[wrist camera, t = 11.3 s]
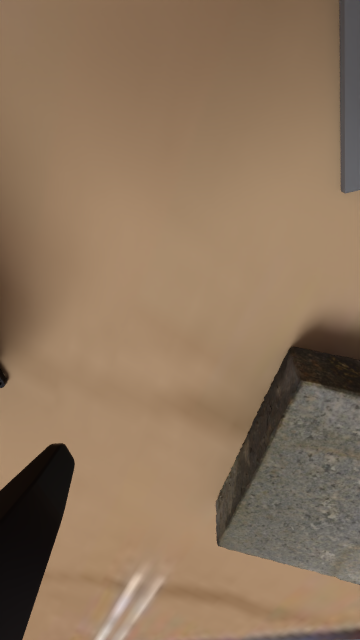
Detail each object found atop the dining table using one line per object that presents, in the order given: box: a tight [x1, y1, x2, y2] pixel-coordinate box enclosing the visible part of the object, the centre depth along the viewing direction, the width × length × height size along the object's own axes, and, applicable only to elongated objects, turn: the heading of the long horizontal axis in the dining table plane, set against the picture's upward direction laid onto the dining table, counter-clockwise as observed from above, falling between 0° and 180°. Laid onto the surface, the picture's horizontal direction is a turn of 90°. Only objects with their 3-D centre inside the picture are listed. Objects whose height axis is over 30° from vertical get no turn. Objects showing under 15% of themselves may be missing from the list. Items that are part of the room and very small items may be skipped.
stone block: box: [216, 347, 360, 585], centre depth 25 cm, size 14×20×5 cm
